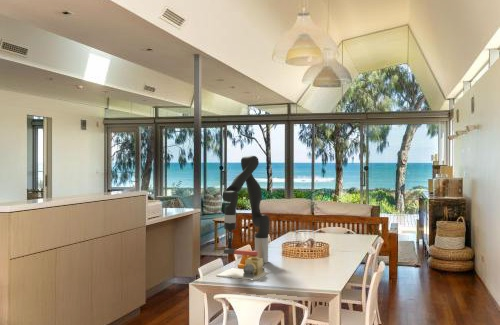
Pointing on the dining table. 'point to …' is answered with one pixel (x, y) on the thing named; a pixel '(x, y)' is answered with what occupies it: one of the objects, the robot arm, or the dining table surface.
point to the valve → (253, 267)
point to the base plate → (239, 274)
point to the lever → (240, 252)
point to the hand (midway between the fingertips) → (229, 248)
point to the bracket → (243, 260)
